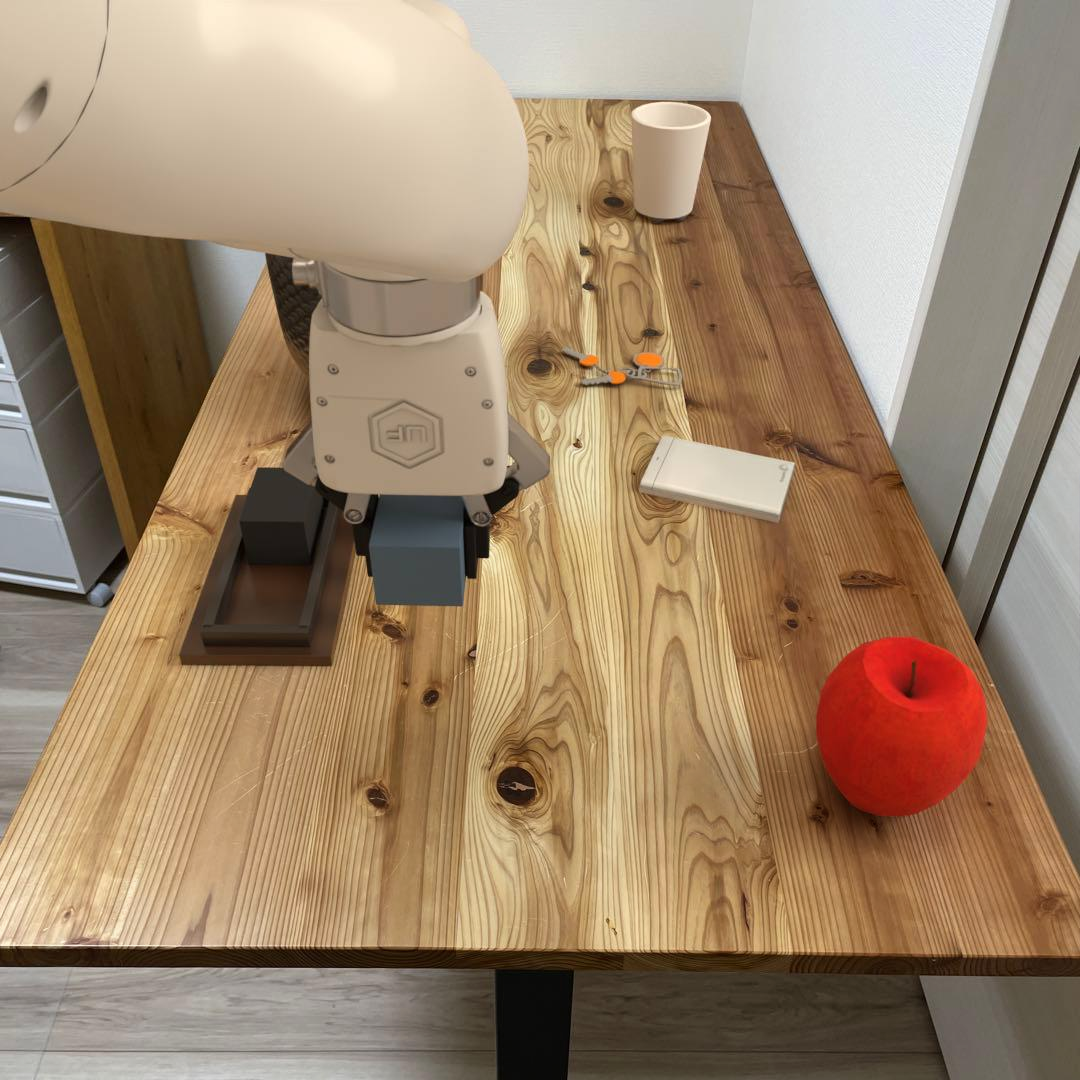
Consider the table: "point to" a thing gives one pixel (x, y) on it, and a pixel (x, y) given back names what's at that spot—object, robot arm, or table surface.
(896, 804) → the apple
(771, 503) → the hard drive
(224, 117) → the robot arm
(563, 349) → the key chain
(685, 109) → the cup
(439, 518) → the blue-grey rectangular block
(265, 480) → the pad
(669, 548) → the table surface
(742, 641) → the table surface
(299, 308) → the planter
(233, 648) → the backing board
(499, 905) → the table surface
